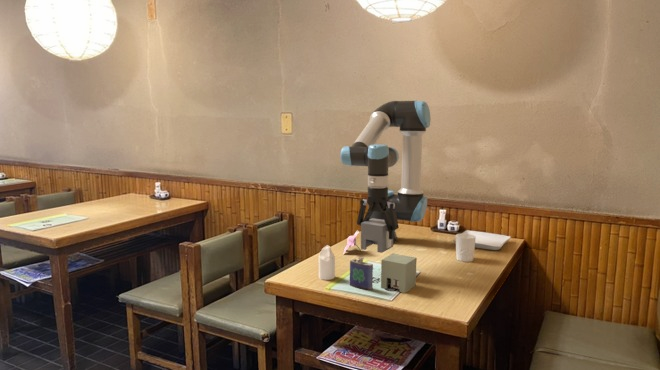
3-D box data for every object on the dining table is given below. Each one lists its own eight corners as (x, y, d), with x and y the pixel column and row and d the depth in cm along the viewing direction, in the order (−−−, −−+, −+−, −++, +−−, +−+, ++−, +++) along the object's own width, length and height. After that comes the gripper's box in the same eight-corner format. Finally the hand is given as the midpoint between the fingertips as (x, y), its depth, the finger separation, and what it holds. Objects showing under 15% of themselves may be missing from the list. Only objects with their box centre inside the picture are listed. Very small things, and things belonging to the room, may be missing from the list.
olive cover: (380, 287, 171) (381, 259, 170) (392, 280, 179) (393, 253, 177) (404, 293, 167) (405, 264, 165) (415, 285, 174) (416, 257, 172)
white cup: (475, 263, 200) (476, 238, 198) (455, 261, 201) (456, 237, 200) (473, 257, 207) (474, 234, 206) (454, 256, 209) (455, 233, 207)
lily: (350, 249, 223) (340, 231, 220) (373, 242, 217) (363, 224, 215) (342, 264, 213) (332, 246, 210) (366, 257, 207) (355, 238, 205)
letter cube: (390, 287, 172) (390, 276, 171) (395, 284, 175) (396, 273, 175) (401, 289, 170) (401, 278, 169) (406, 286, 173) (406, 275, 173)
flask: (373, 288, 170) (374, 258, 169) (369, 291, 168) (369, 260, 166) (352, 283, 176) (352, 253, 174) (347, 285, 174) (347, 255, 172)
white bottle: (318, 247, 177) (318, 243, 183) (318, 280, 179) (318, 274, 185) (335, 247, 177) (334, 243, 183) (335, 280, 179) (334, 274, 185)
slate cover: (360, 248, 186) (360, 223, 185) (372, 243, 194) (372, 218, 192) (382, 252, 181) (382, 226, 180) (393, 246, 189) (393, 221, 187)
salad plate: (500, 253, 214) (500, 246, 213) (452, 246, 225) (452, 239, 224) (511, 242, 231) (511, 235, 231) (466, 236, 242) (466, 229, 242)
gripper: (347, 185, 186) (347, 243, 190) (400, 190, 175) (399, 252, 178) (357, 182, 193) (357, 238, 196) (409, 187, 181) (407, 247, 185)
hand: (377, 245), depth 187 cm, fingers closed on slate cover, 9 cm apart
